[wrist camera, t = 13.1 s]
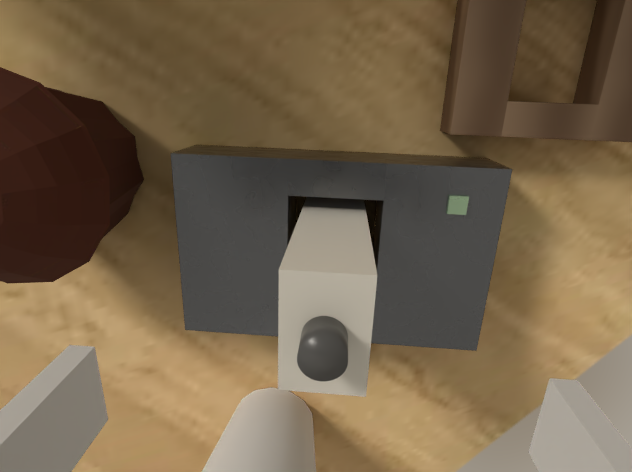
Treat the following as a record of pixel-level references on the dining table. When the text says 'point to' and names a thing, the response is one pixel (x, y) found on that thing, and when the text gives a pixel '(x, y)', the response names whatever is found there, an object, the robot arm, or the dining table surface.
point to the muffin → (58, 179)
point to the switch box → (388, 242)
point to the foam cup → (266, 436)
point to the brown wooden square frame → (535, 117)
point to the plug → (327, 300)
